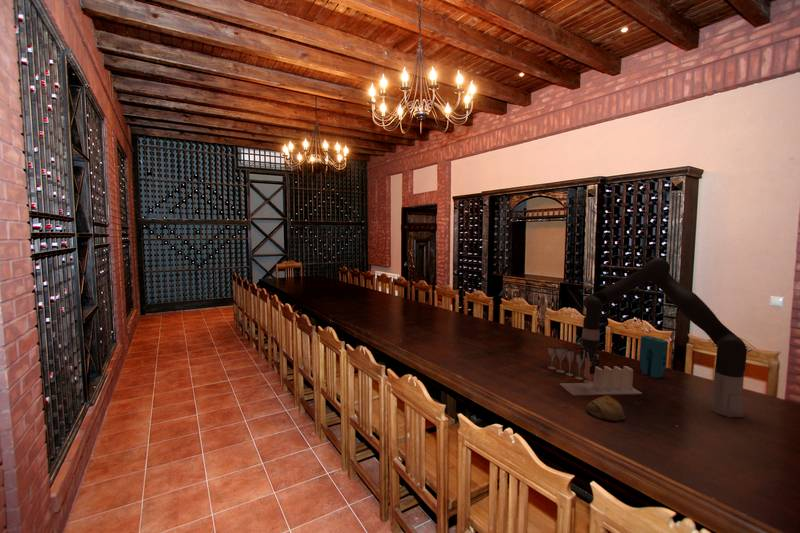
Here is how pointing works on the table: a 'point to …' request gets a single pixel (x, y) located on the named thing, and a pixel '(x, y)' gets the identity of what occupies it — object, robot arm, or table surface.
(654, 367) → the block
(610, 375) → the ivory domino
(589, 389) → the grey rubber mat
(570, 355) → the goblet set
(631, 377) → the ivory domino
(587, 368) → the terracotta domino
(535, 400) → the table surface
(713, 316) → the robot arm
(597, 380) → the ivory domino
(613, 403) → the pastry
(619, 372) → the ivory domino
